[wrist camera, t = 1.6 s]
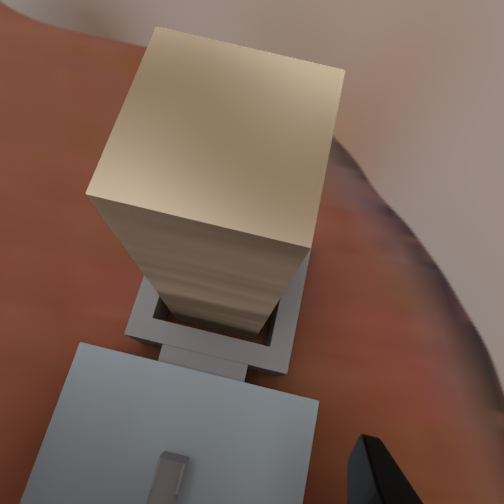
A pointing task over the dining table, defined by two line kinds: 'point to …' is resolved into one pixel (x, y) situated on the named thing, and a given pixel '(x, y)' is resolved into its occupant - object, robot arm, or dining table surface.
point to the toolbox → (179, 418)
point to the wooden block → (218, 175)
